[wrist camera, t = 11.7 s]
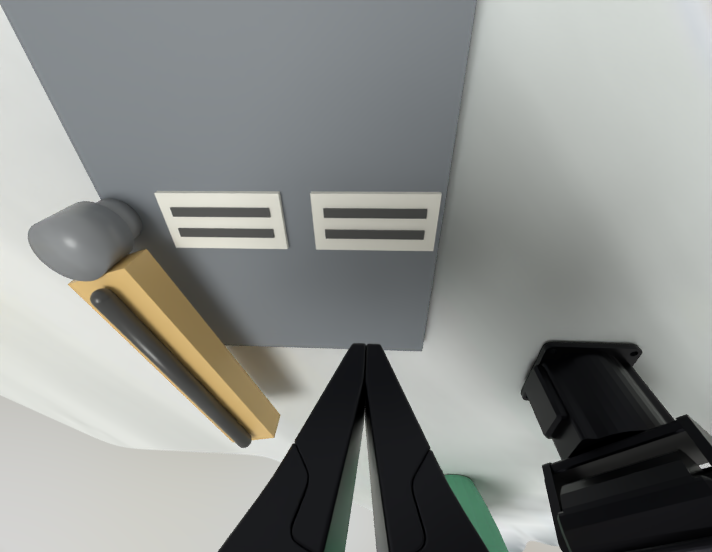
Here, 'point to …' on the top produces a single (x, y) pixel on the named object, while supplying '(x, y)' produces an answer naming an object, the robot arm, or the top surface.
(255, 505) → the robot arm
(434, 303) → the top surface
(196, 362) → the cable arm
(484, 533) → the mug
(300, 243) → the panel
